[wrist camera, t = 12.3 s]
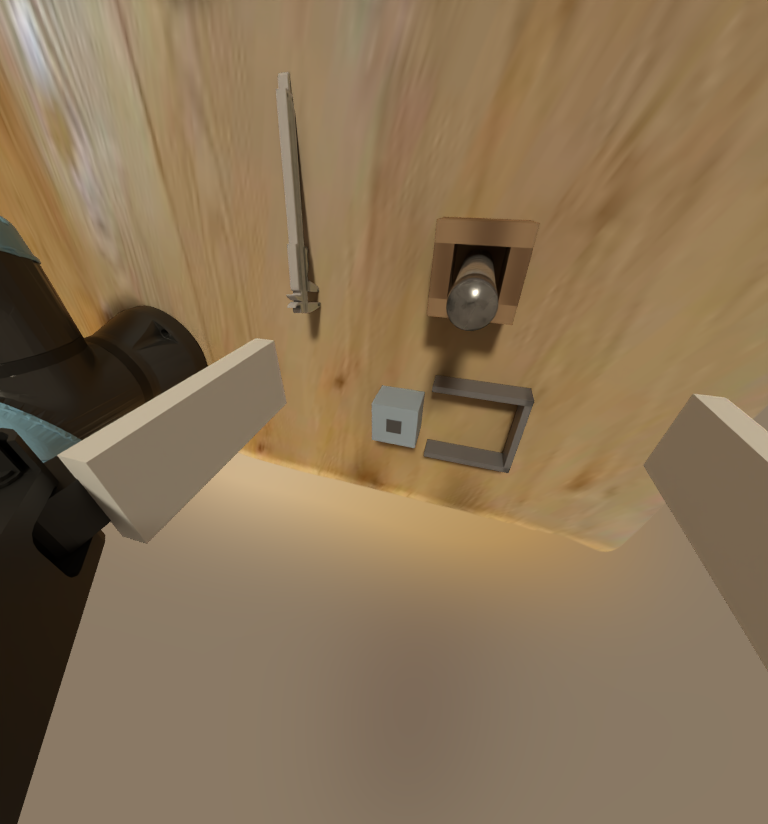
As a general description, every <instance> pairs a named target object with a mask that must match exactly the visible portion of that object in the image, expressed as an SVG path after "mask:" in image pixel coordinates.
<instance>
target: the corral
mask: <svg viewBox="0 0 768 824" xmlns="http://www.w3.org/2000/svg"><path fill="white" fill-rule="evenodd" d="M432 392H437V393H444V394H450V395H457V396H463V397H470V398H476V399H483V400H489V401H496V402H502V403H509V404H515V405H518V408H517V411H516V414H515V417H514V420H513V423H512V426H511V430H510V433H509V436H508V439H507V442H506V445H505V448H504V451H503V453H499V452H494V451H489V450H483V449H478V448H473V447H467V446H462V445H457V444H451V443H446V442H441V441H435V440H430V439H427V443H426V447H425V451H424V456H425V457H430V458H435V459H440V460H445V461H450V462H455V463H460V464H465V465H470V466H475V467H480V468H485V469H490V470H495V471H500V472H505V473H509V470H510V468H511V465H512V462H513V459H514V456H515V454H516V451H517V448H518V445H519V442H520V440H521V437H522V434H523V431H524V428H525V426H526V423H527V420H528V417H529V414H530V412H531V409H532V406H533V403H534V398H533V394H532V390H531V388H524V387H517V386H510V385H503V384H496V383H489V382H482V381H475V380H468V379H461V378H454V377H447V376H440V375H436V377H435V380H434V383H433V388H432Z"/></svg>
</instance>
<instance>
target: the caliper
mask: <svg viewBox="0 0 768 824" xmlns="http://www.w3.org/2000/svg"><path fill="white" fill-rule="evenodd" d="M278 87H279V89H276V98H277V109H278V121H279V133H280V145H281V156H282V167H283V179H284V190H285V202H286V213H287V225H288V236H289V244H287V249H288V261H289V274H290V286H291V290H292V291H293V294H292V295H286V296H287V297H288V298H289V299H290V300H294V302H291V303H289V304H288V306H287V307H288V308H293V313H311V312H312V311H314V310H316V309H317V308H319V307H320V302H308V294H307V292H319V288H318V286H316V285H315V284H314V283H312V282H311V281H310V280H308V268H309V261H308V248H307V247H305V246H304V235H303V221H302V207H301V193H300V178H299V163H298V148H297V133H296V118H295V110H294V103H293V96H292V93H291V86H290V74H289V72H283V73H278Z"/></svg>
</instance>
